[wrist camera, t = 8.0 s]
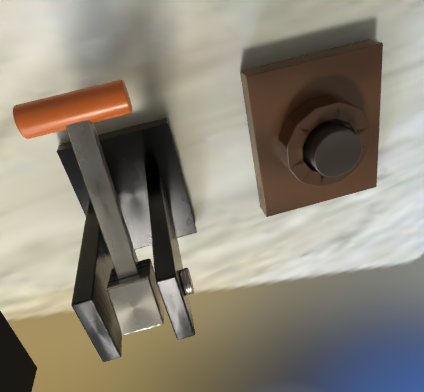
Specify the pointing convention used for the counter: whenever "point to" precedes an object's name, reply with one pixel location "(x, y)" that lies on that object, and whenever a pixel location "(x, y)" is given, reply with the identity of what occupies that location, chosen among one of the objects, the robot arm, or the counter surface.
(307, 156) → the button
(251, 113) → the button block
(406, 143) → the counter surface
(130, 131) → the switch bracket
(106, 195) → the switch
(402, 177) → the counter surface
